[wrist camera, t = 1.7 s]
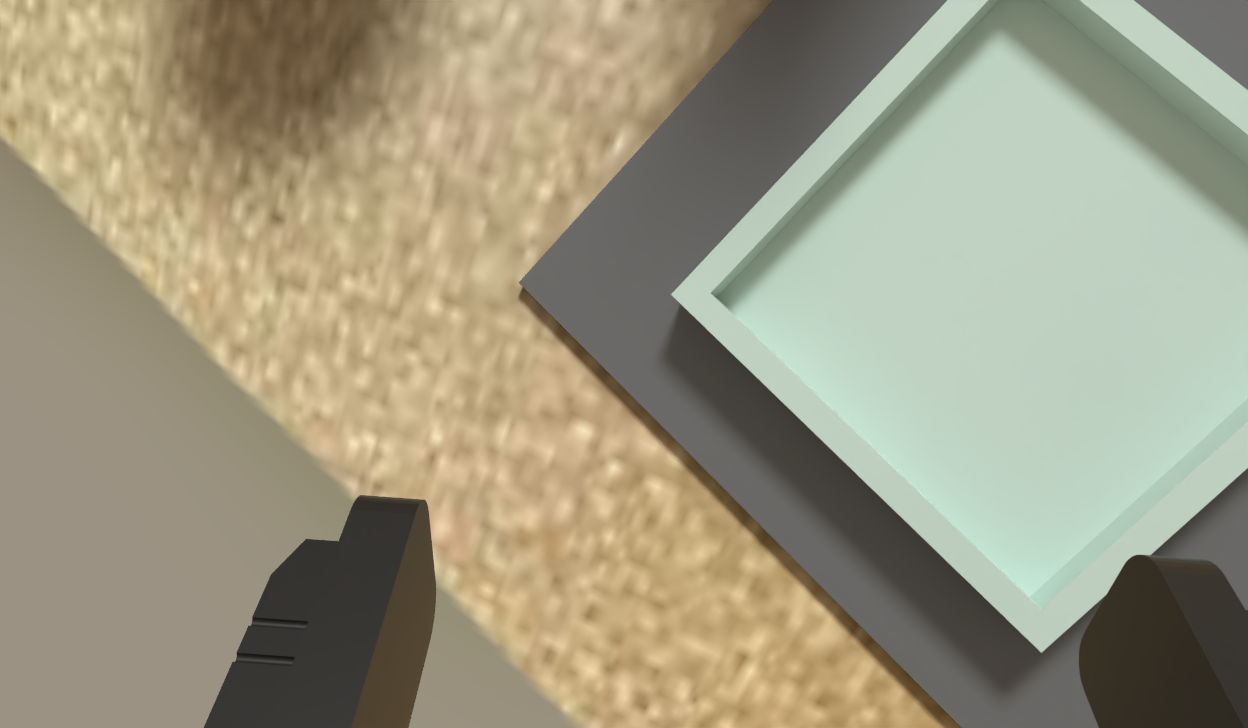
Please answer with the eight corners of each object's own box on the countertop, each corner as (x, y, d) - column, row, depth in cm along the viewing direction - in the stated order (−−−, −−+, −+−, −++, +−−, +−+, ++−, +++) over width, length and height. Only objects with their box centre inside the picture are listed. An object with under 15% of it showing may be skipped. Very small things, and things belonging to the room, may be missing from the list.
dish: (1014, -53, 26) (1026, -84, 24) (1425, 275, 24) (1472, 267, 22) (681, 299, 28) (671, 294, 26) (1027, 634, 26) (1041, 652, 24)
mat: (982, -225, 27) (984, -233, 26) (1666, 297, 23) (1680, 295, 22) (523, 284, 30) (518, 282, 29) (1056, 819, 26) (1059, 826, 25)
